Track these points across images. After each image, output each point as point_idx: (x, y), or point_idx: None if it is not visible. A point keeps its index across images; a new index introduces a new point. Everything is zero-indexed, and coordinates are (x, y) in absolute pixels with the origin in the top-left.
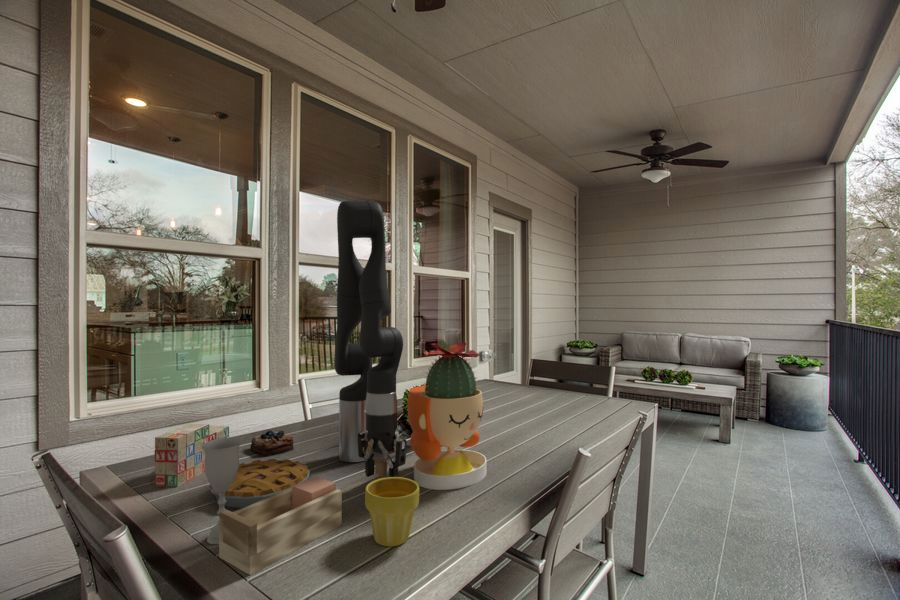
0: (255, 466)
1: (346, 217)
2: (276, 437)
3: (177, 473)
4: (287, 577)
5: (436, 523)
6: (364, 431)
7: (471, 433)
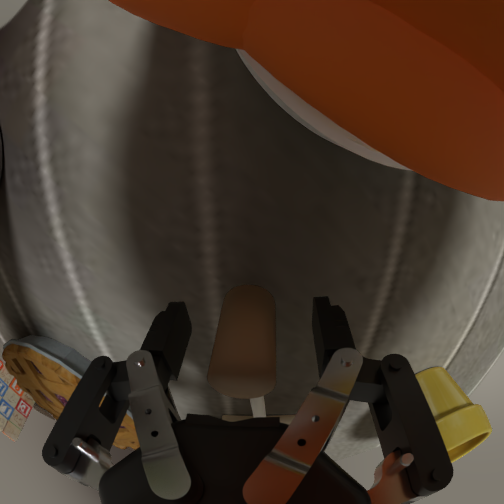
0: (37, 396)
1: None
2: None
3: (31, 408)
4: (338, 453)
5: (481, 314)
6: (61, 472)
7: None
